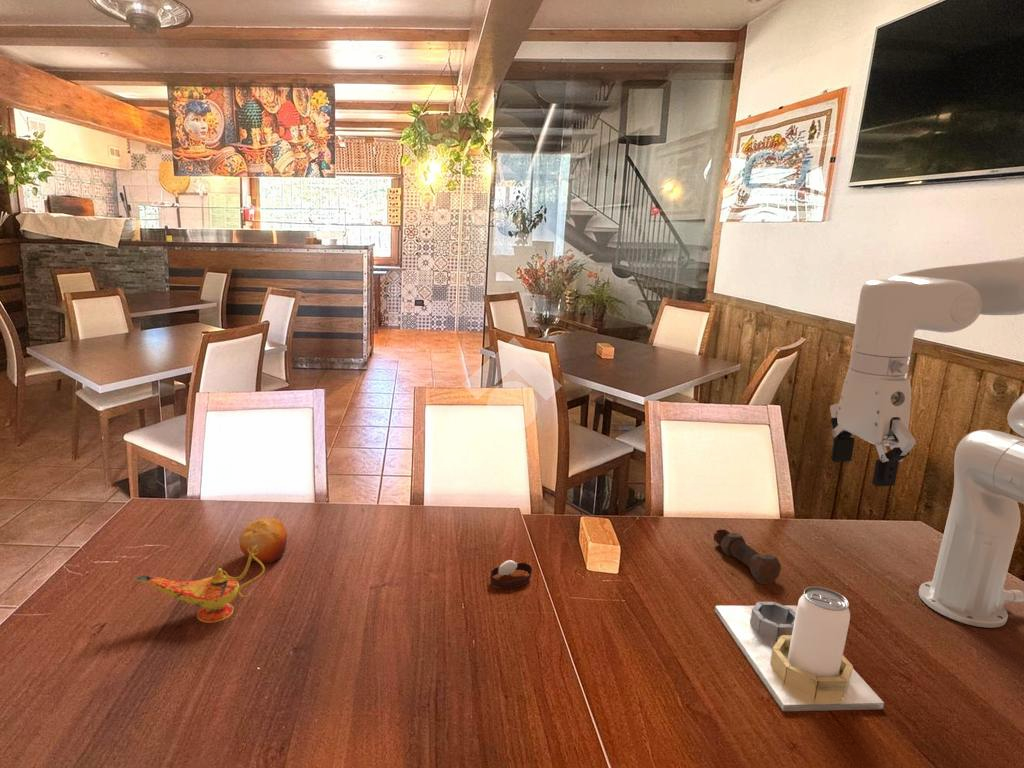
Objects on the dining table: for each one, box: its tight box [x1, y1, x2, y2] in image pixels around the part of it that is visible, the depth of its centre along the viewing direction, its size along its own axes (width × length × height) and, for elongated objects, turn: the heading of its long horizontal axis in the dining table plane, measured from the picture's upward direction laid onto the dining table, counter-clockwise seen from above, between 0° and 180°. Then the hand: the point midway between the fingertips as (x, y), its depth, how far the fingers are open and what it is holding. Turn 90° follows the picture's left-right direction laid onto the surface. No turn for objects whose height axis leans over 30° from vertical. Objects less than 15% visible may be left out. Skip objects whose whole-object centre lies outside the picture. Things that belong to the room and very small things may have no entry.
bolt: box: [713, 529, 782, 585], centre depth 118 cm, size 6×5×15 cm
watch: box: [489, 559, 533, 589], centre depth 107 cm, size 8×5×4 cm, turn 116°
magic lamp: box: [134, 545, 266, 624], centre depth 93 cm, size 7×18×11 cm, turn 103°
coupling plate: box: [714, 601, 885, 712], centre depth 92 cm, size 14×22×4 cm, turn 5°
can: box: [788, 586, 851, 677], centre depth 85 cm, size 6×6×12 cm
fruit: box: [238, 517, 288, 564], centre depth 111 cm, size 8×8×8 cm
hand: (861, 472), depth 95 cm, fingers open, 9 cm apart
